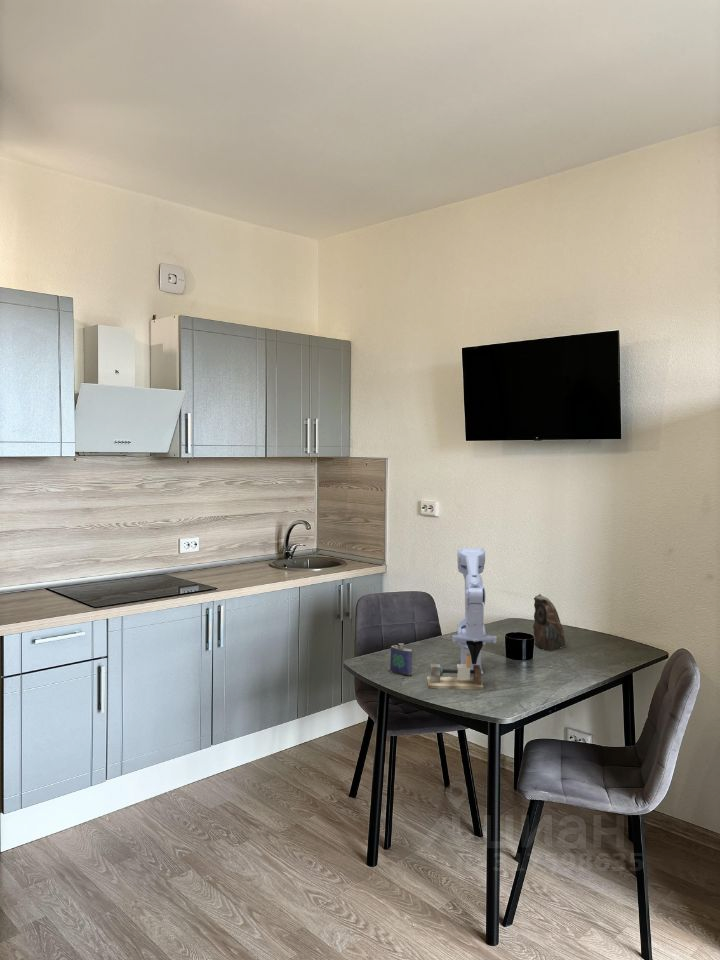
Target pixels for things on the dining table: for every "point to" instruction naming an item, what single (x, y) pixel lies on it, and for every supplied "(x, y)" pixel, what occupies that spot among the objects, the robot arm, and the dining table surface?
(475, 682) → the board
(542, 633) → the owl
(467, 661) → the sleeve
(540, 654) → the dining table surface
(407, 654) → the flask
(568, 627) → the dining table surface
